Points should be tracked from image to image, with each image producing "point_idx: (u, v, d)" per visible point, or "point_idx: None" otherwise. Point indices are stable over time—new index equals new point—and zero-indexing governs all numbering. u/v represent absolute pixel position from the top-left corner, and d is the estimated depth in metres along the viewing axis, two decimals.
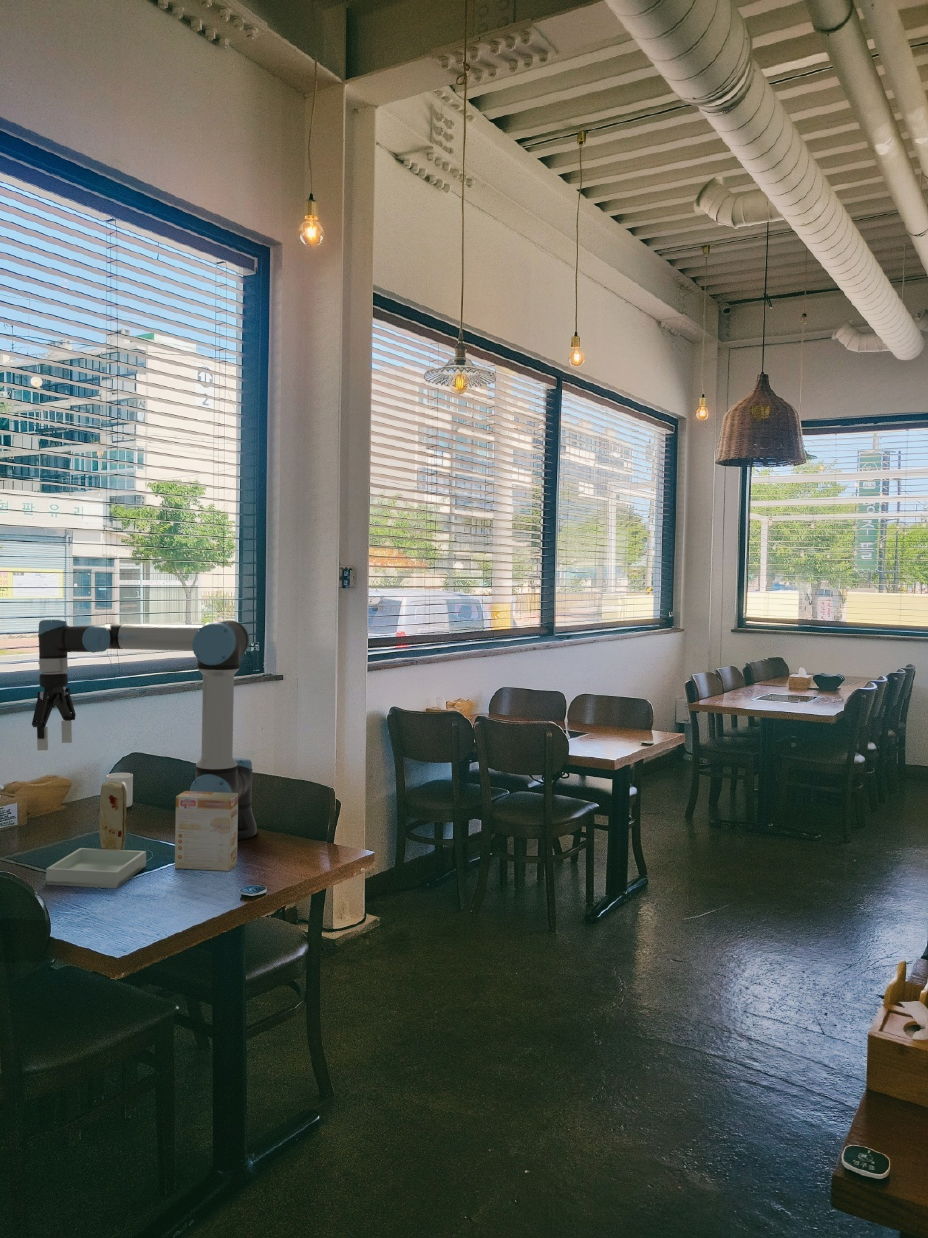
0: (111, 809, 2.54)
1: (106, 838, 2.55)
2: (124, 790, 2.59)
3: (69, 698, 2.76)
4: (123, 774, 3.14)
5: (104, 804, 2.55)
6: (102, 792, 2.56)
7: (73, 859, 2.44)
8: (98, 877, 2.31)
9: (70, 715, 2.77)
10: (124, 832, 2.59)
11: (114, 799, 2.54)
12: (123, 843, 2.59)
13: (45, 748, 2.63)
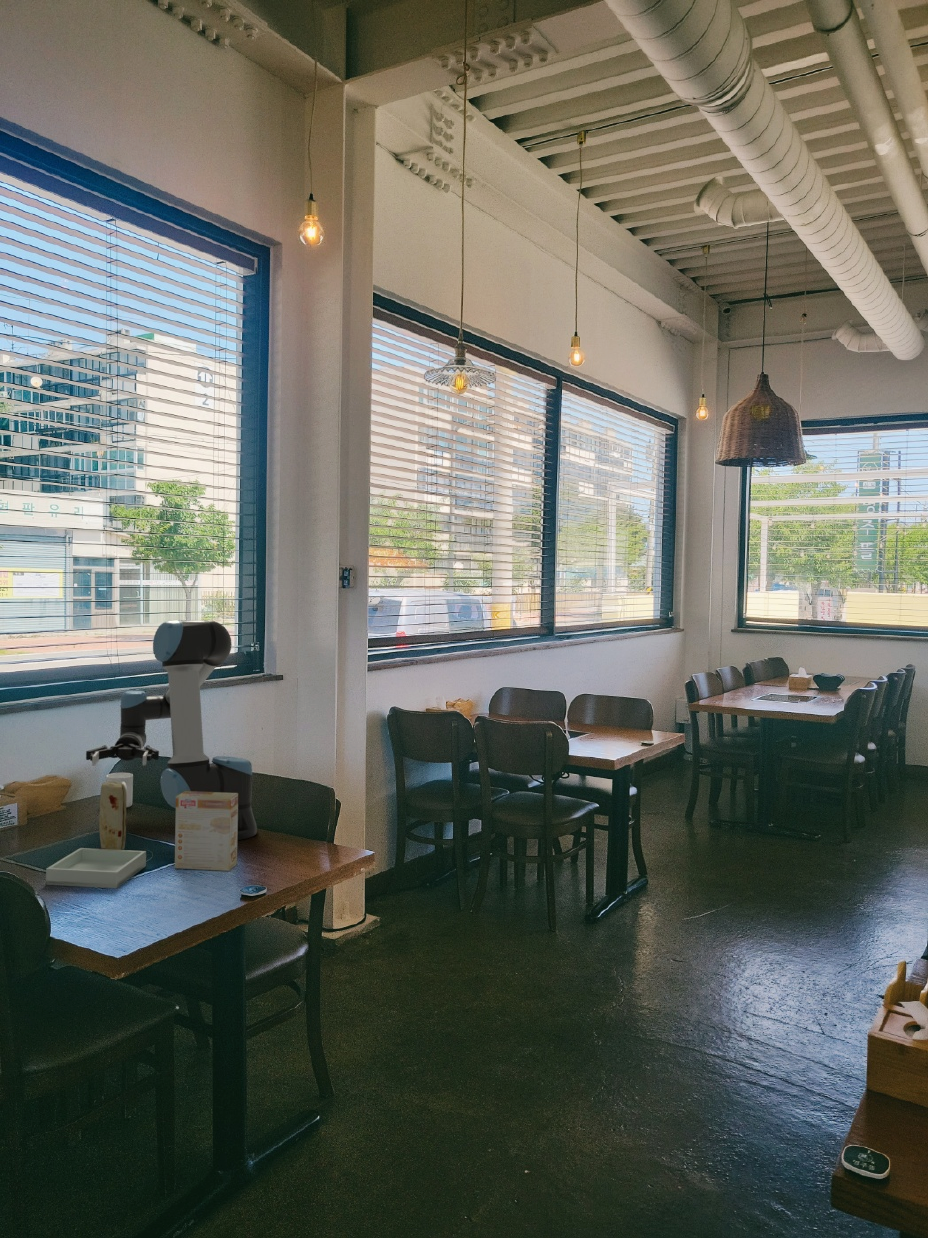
0: (111, 809, 2.54)
1: (106, 838, 2.55)
2: (124, 790, 2.59)
3: (148, 747, 2.81)
4: (123, 774, 3.14)
5: (104, 804, 2.55)
6: (102, 792, 2.56)
7: (73, 859, 2.44)
8: (98, 877, 2.31)
9: (147, 751, 2.76)
10: (124, 832, 2.59)
11: (114, 799, 2.54)
12: (123, 843, 2.59)
13: None
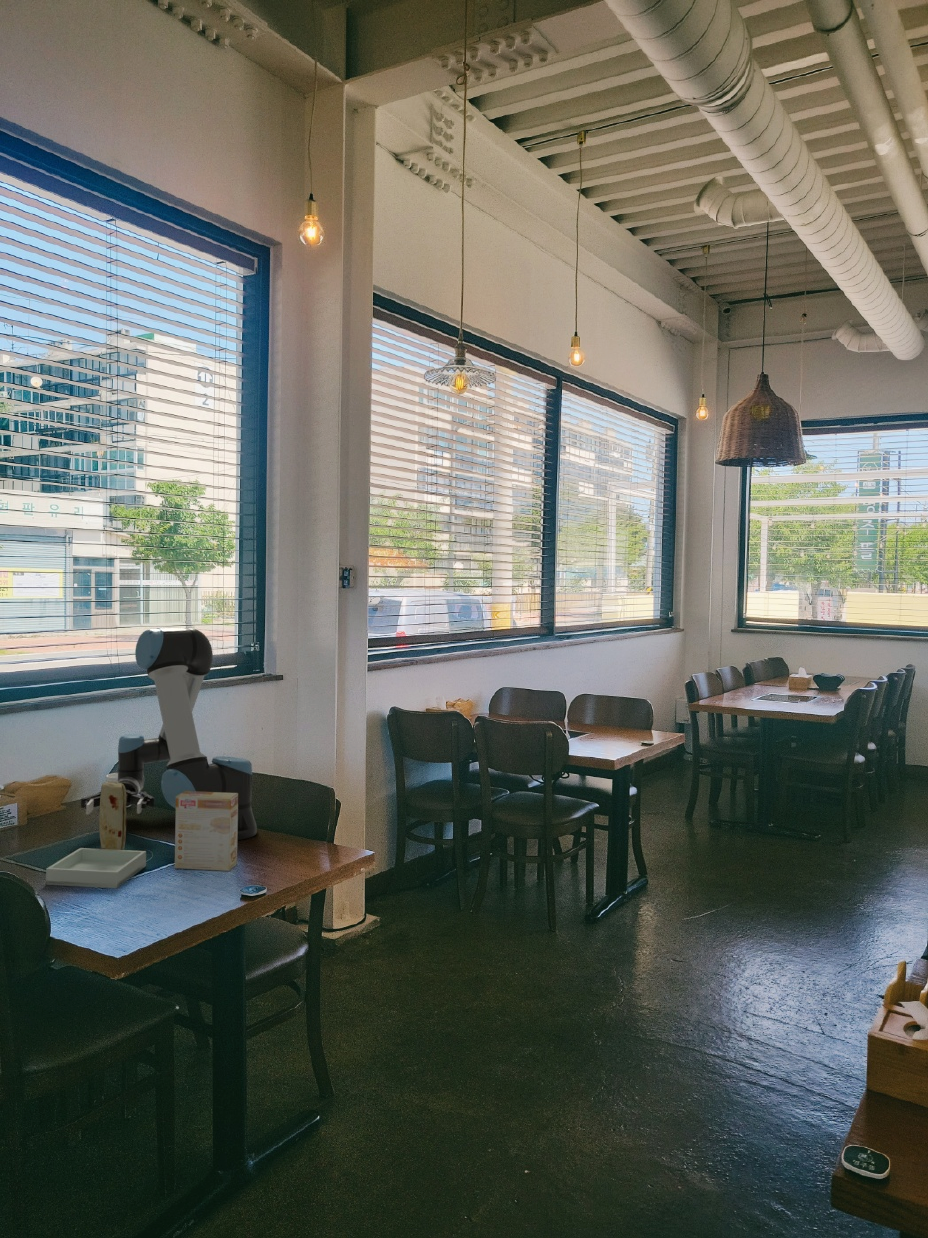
0: (111, 809, 2.54)
1: (106, 838, 2.55)
2: (124, 790, 2.59)
3: (144, 794, 2.78)
4: None
5: (104, 804, 2.55)
6: (102, 792, 2.56)
7: (73, 859, 2.44)
8: (98, 877, 2.31)
9: (143, 798, 2.73)
10: (124, 832, 2.59)
11: (114, 799, 2.54)
12: (123, 843, 2.59)
13: None
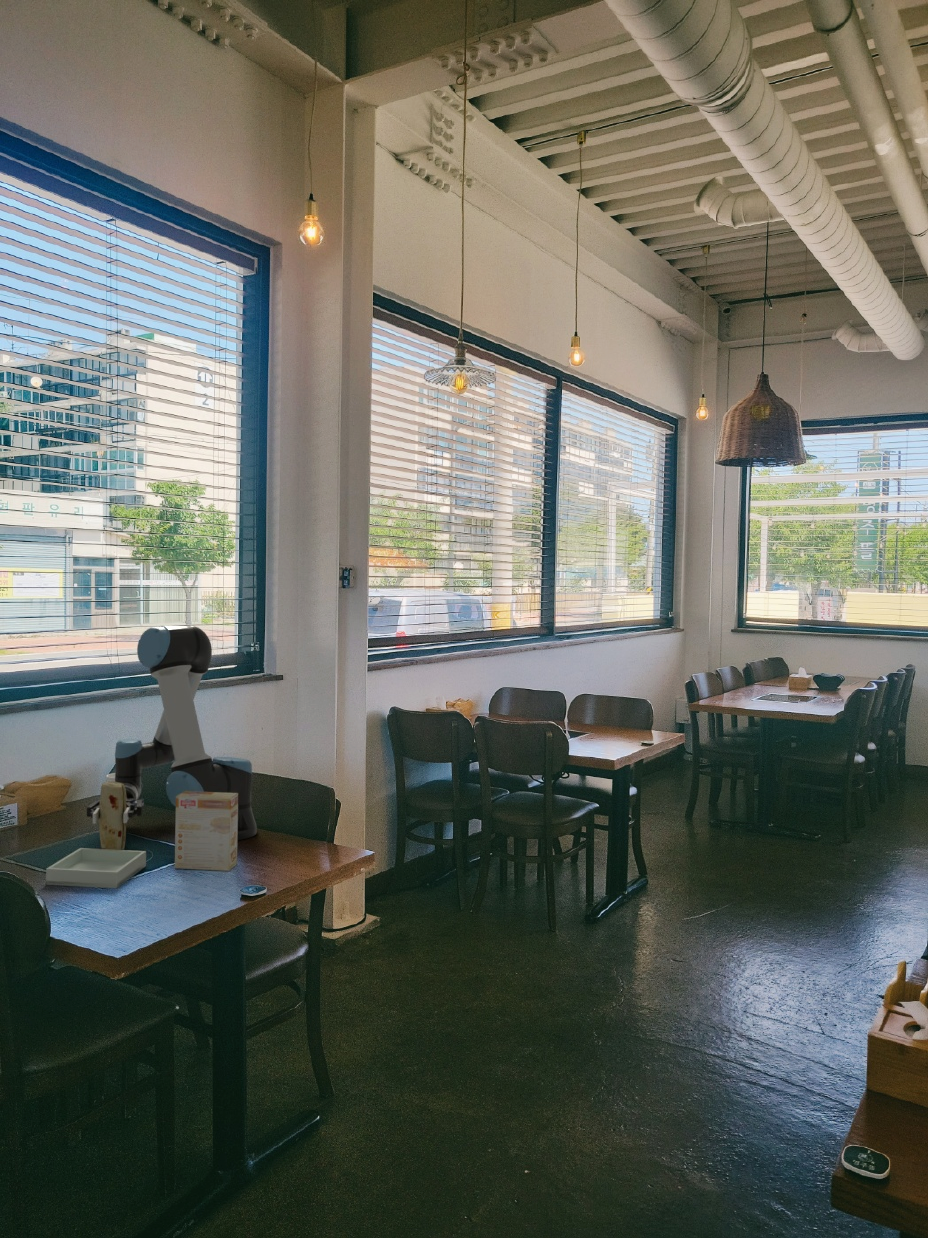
0: (111, 809, 2.54)
1: (106, 838, 2.55)
2: (124, 790, 2.59)
3: (138, 801, 2.68)
4: None
5: (104, 804, 2.55)
6: (102, 792, 2.56)
7: (73, 859, 2.44)
8: (98, 877, 2.31)
9: None
10: (124, 832, 2.59)
11: (114, 799, 2.54)
12: (123, 843, 2.59)
13: (92, 814, 2.53)
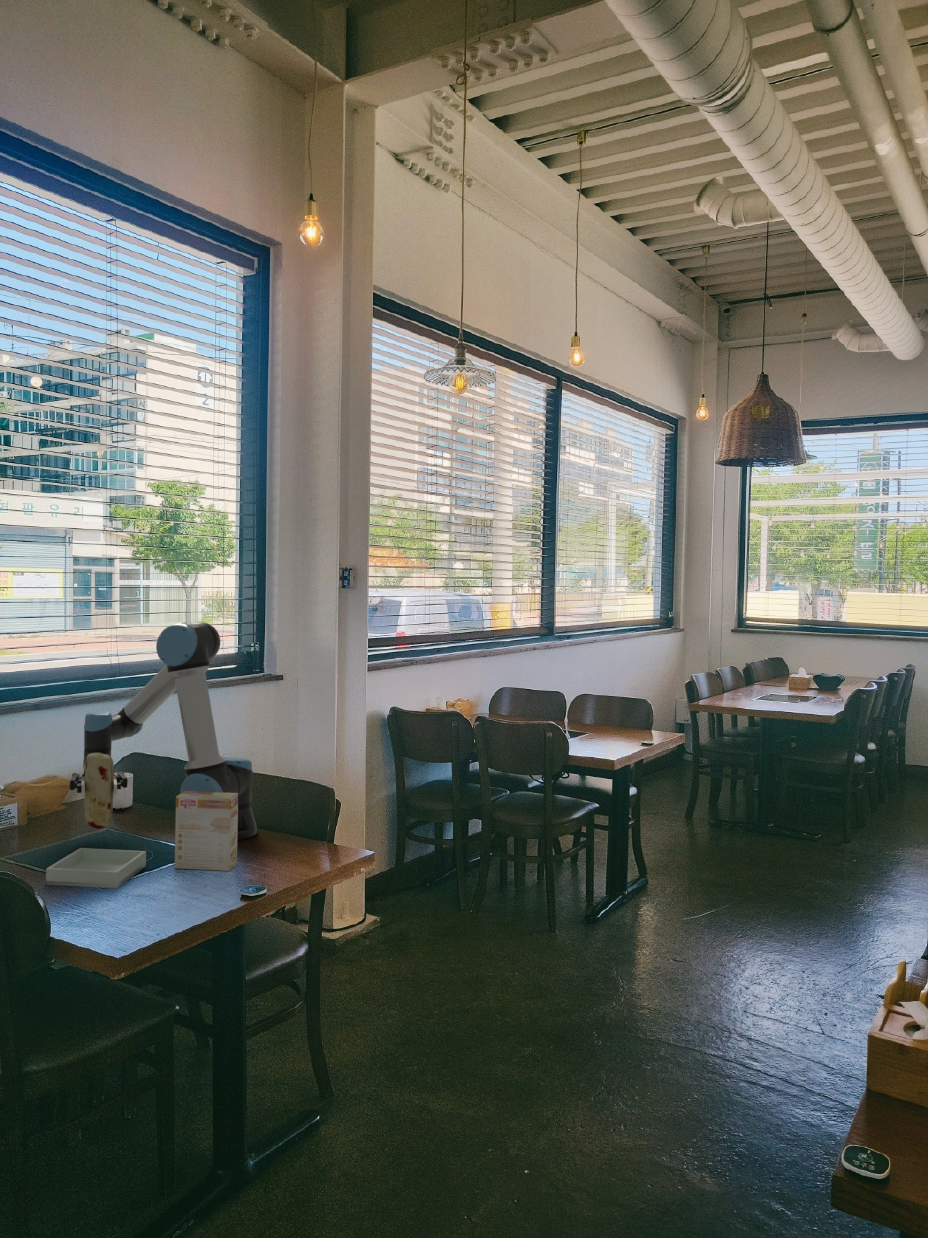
0: (101, 780, 2.46)
1: (95, 810, 2.47)
2: (111, 761, 2.51)
3: (120, 774, 2.61)
4: None
5: (92, 775, 2.47)
6: (89, 764, 2.48)
7: (73, 859, 2.44)
8: (98, 877, 2.31)
9: (116, 778, 2.55)
10: (111, 804, 2.52)
11: (104, 770, 2.47)
12: (110, 816, 2.52)
13: (81, 787, 2.45)
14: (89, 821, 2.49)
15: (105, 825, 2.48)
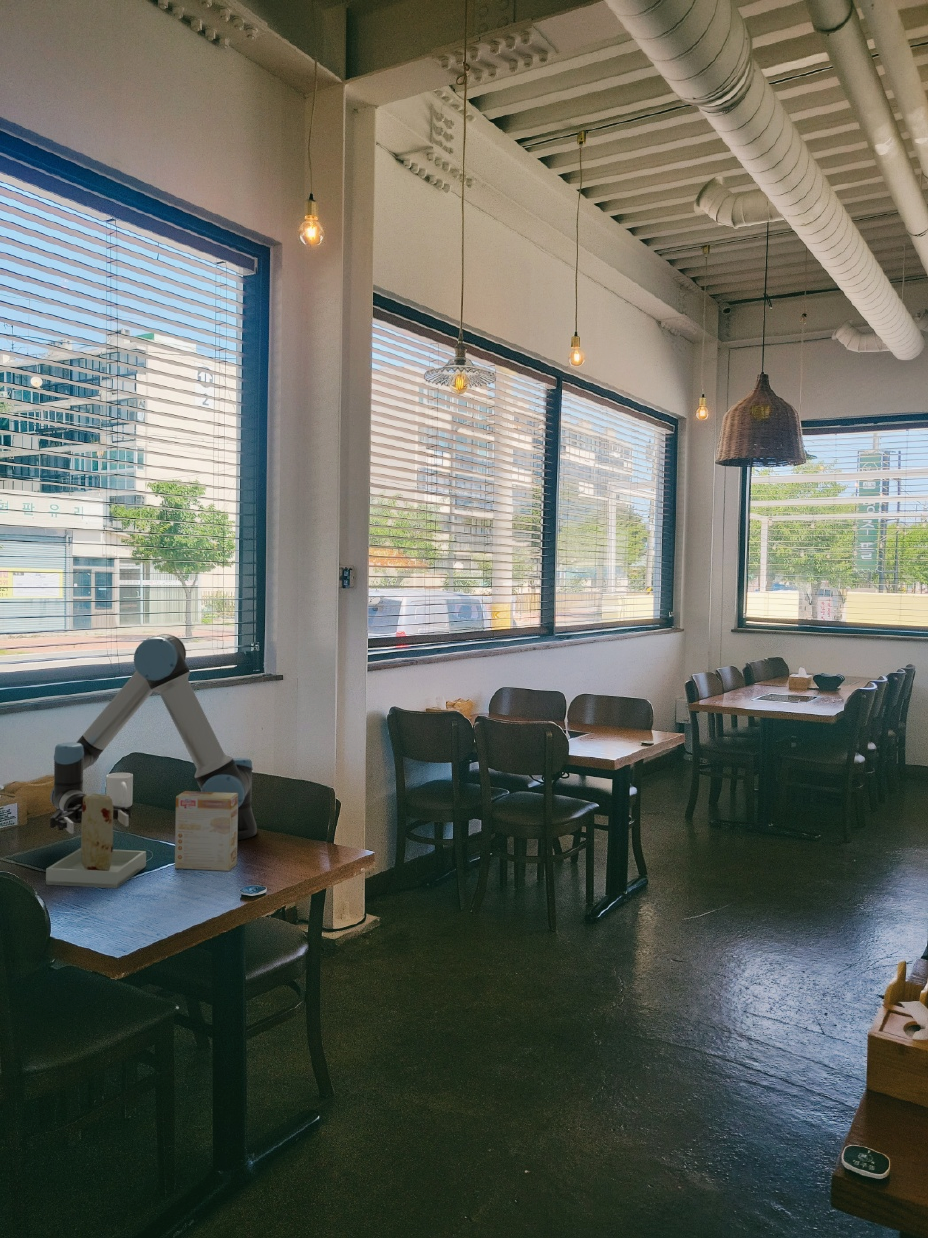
0: (104, 823, 2.36)
1: (97, 854, 2.37)
2: None
3: None
4: (123, 774, 3.14)
5: (94, 818, 2.36)
6: (89, 806, 2.37)
7: (73, 859, 2.44)
8: (98, 877, 2.31)
9: (118, 809, 2.49)
10: None
11: (107, 812, 2.37)
12: None
13: (69, 824, 2.34)
14: (90, 866, 2.38)
15: (107, 869, 2.38)
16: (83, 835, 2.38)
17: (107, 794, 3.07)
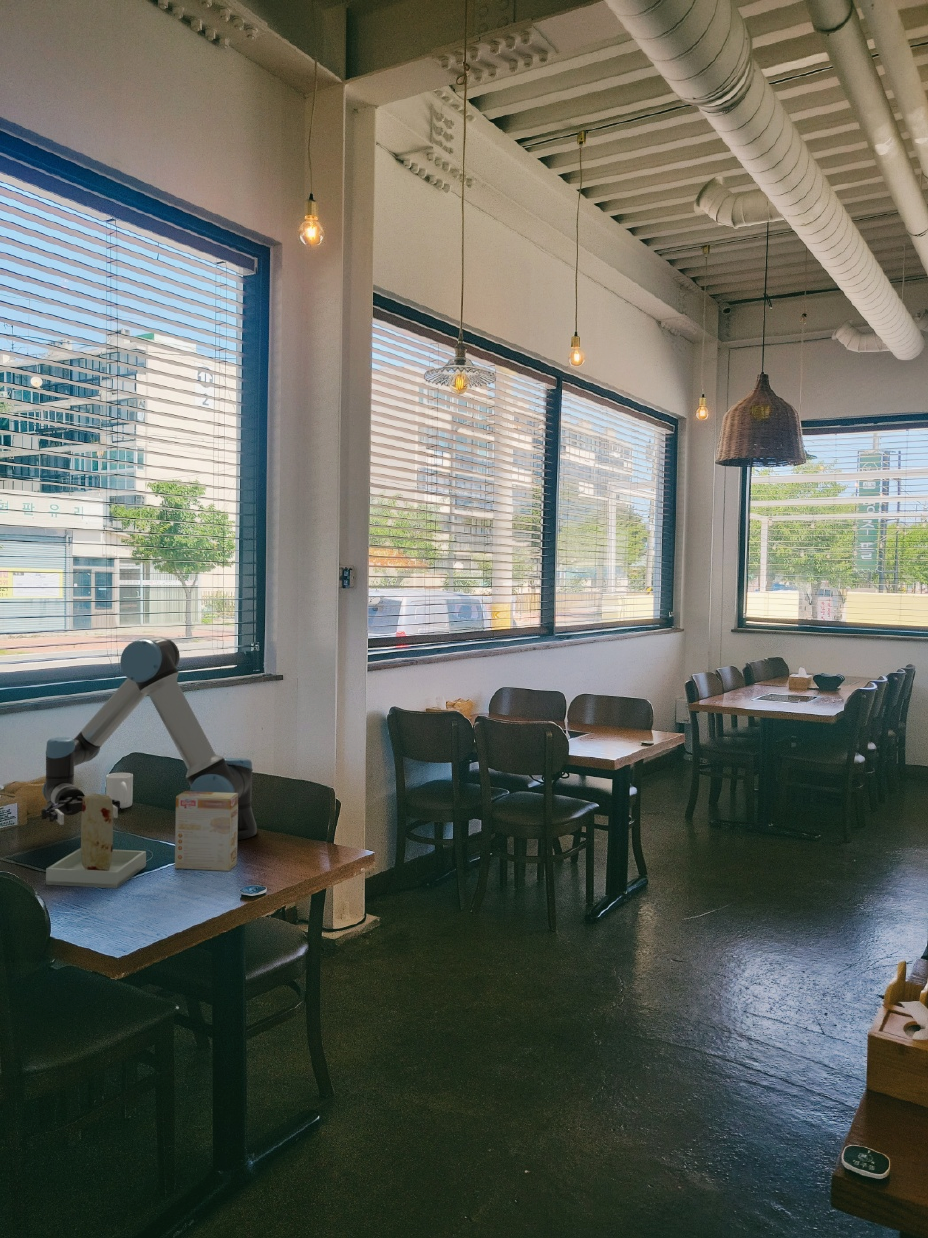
0: (104, 822, 2.36)
1: (97, 854, 2.37)
2: None
3: None
4: (123, 774, 3.14)
5: (94, 818, 2.36)
6: (89, 806, 2.37)
7: (73, 859, 2.44)
8: (98, 877, 2.31)
9: None
10: None
11: (107, 812, 2.37)
12: None
13: (60, 815, 2.42)
14: (89, 866, 2.38)
15: (107, 868, 2.38)
16: (83, 835, 2.38)
17: (107, 794, 3.07)
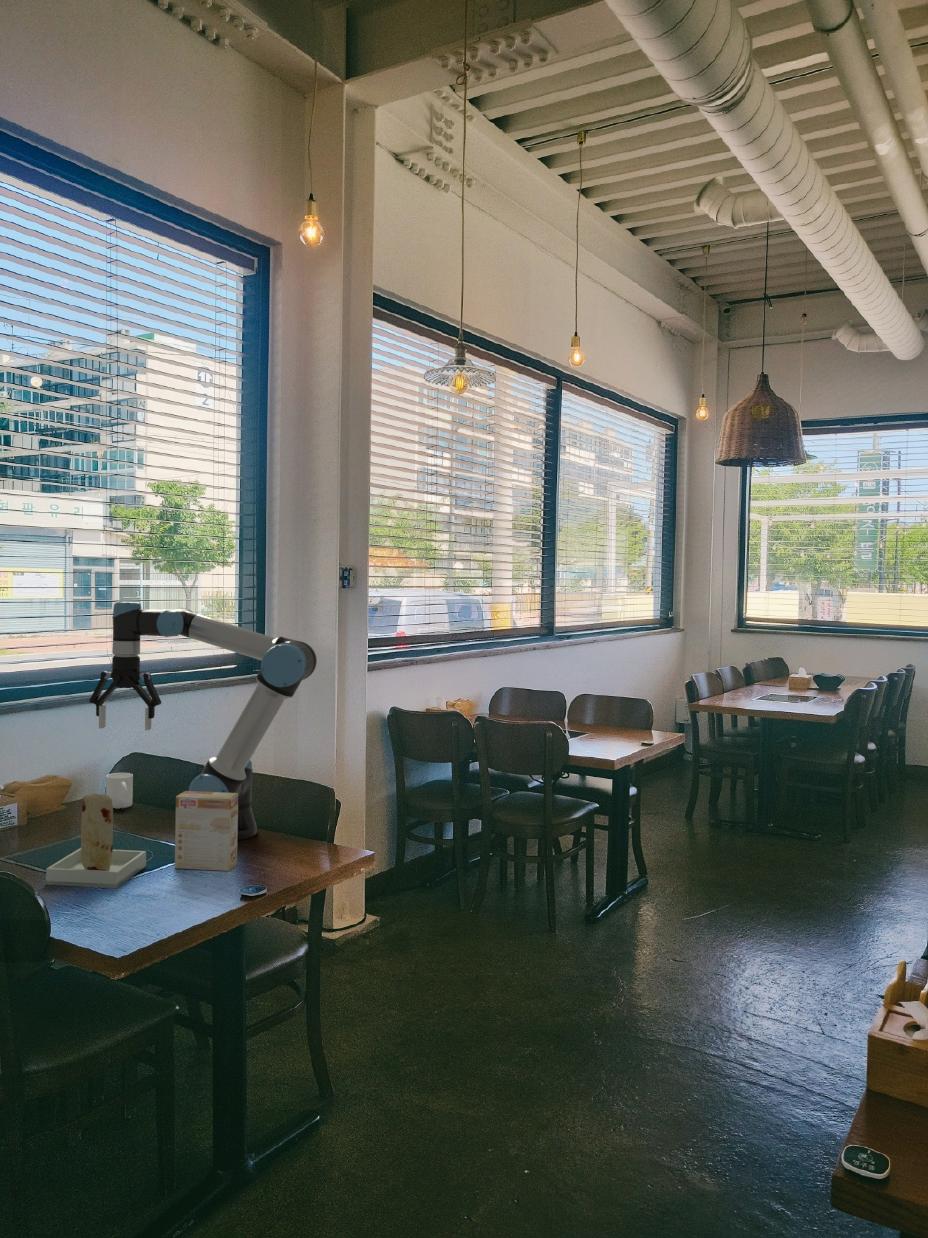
0: (104, 823, 2.36)
1: (97, 854, 2.37)
2: None
3: (146, 684, 2.68)
4: (123, 774, 3.14)
5: (94, 818, 2.36)
6: (89, 806, 2.37)
7: (73, 859, 2.44)
8: (98, 877, 2.31)
9: (147, 702, 2.68)
10: None
11: (107, 812, 2.37)
12: None
13: None
14: (89, 866, 2.38)
15: (107, 868, 2.38)
16: (83, 835, 2.38)
17: (107, 794, 3.07)
